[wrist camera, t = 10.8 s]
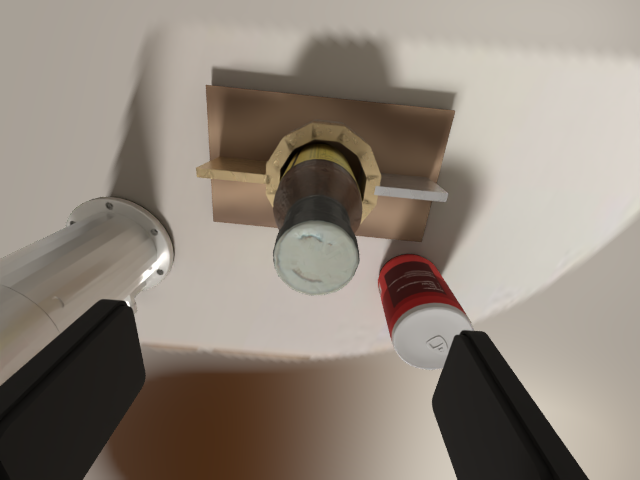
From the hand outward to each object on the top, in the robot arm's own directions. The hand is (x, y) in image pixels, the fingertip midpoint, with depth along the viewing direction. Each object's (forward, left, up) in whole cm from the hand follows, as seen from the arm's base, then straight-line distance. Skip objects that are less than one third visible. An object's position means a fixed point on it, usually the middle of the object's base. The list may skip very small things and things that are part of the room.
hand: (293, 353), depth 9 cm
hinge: (0, 0, -25) cm, 25 cm away
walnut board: (0, 0, -27) cm, 27 cm away
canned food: (-13, -12, -27) cm, 32 cm away
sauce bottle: (0, 0, -26) cm, 26 cm away
